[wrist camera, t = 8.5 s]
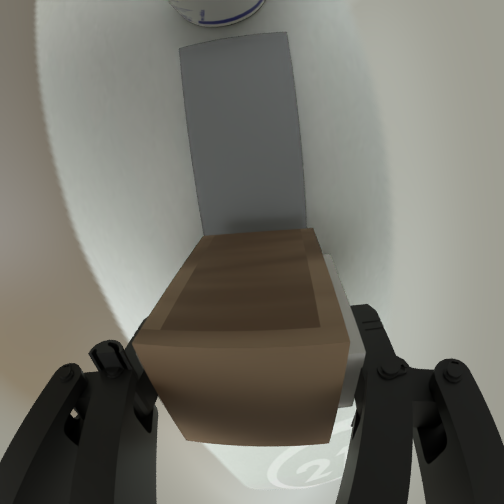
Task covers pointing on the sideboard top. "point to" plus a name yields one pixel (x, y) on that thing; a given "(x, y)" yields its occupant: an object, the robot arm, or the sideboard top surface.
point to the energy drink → (216, 11)
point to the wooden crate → (249, 342)
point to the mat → (244, 134)
